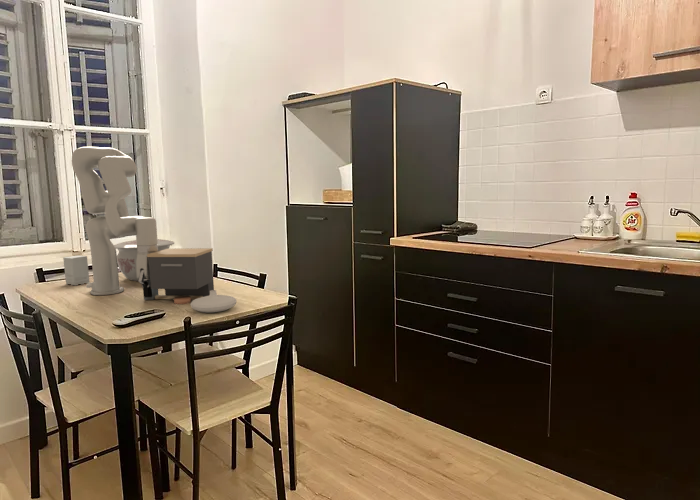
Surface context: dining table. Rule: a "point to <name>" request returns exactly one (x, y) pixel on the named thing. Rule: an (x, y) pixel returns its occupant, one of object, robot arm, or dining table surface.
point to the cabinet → (182, 271)
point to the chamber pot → (133, 256)
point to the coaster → (182, 300)
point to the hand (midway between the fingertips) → (151, 295)
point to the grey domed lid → (213, 303)
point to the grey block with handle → (157, 296)
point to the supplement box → (76, 270)
